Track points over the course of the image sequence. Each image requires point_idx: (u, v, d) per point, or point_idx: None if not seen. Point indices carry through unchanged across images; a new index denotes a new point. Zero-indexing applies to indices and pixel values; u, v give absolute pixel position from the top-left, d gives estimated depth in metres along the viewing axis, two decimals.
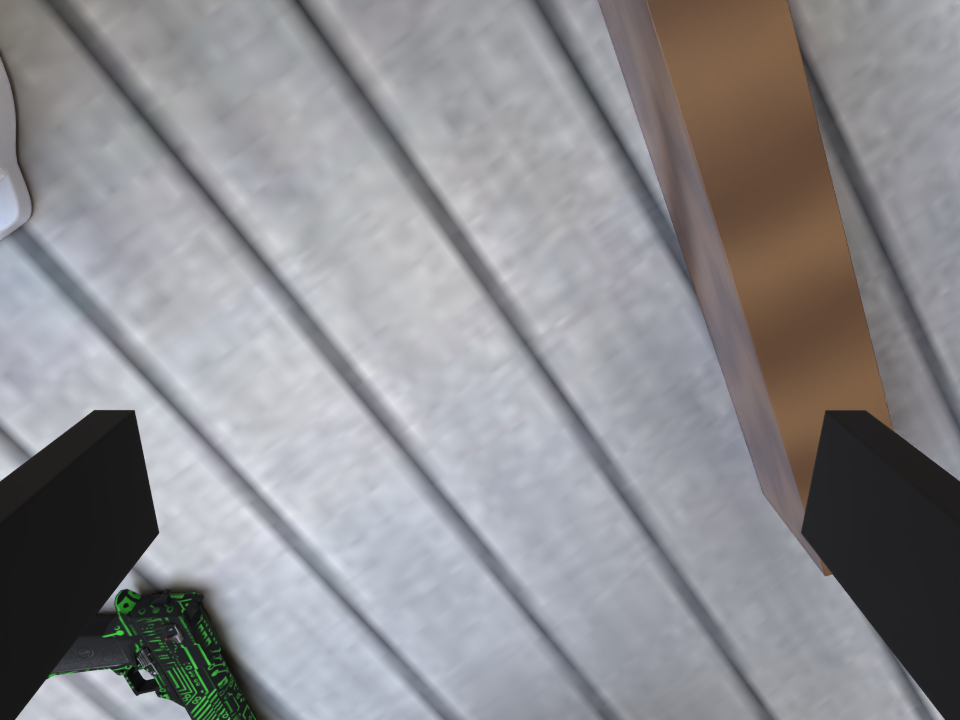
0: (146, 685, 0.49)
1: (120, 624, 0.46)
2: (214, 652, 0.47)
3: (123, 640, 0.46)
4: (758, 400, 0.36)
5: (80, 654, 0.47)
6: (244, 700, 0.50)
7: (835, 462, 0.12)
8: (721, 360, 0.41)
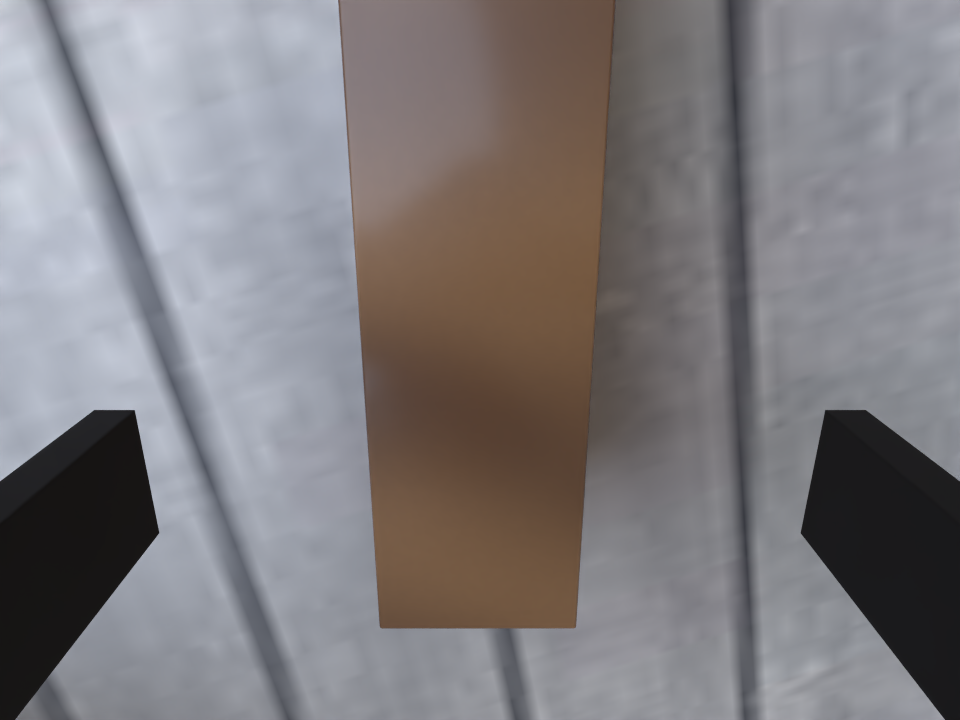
0: None
1: None
2: None
3: None
4: None
5: None
6: None
7: (835, 462, 0.12)
8: None
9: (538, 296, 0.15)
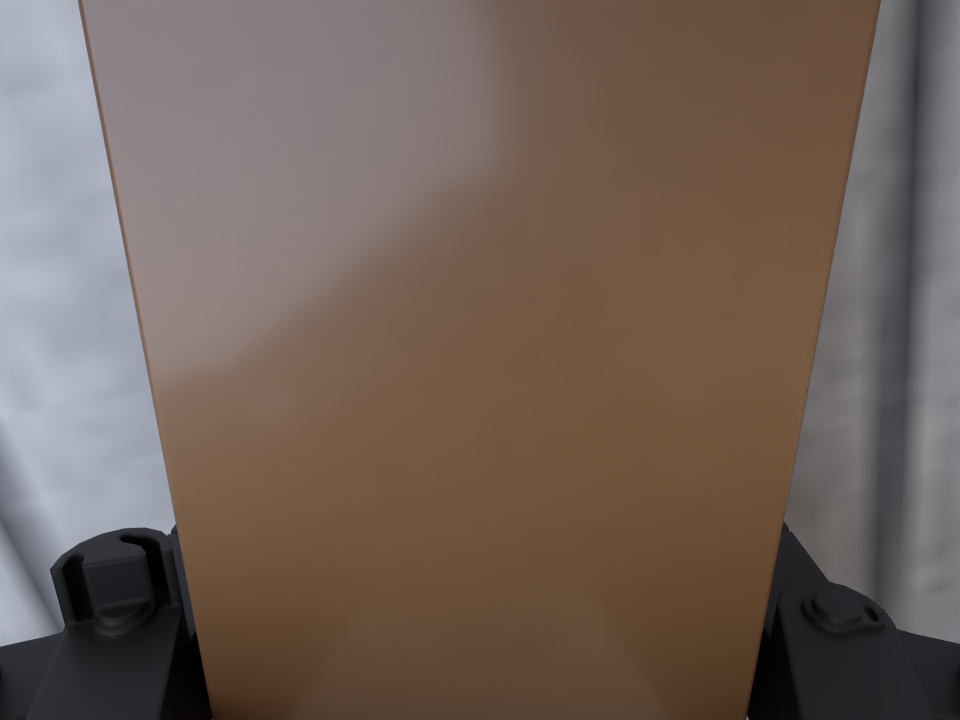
0: None
1: None
2: None
3: None
4: None
5: None
6: None
7: None
8: None
9: (631, 562, 0.06)
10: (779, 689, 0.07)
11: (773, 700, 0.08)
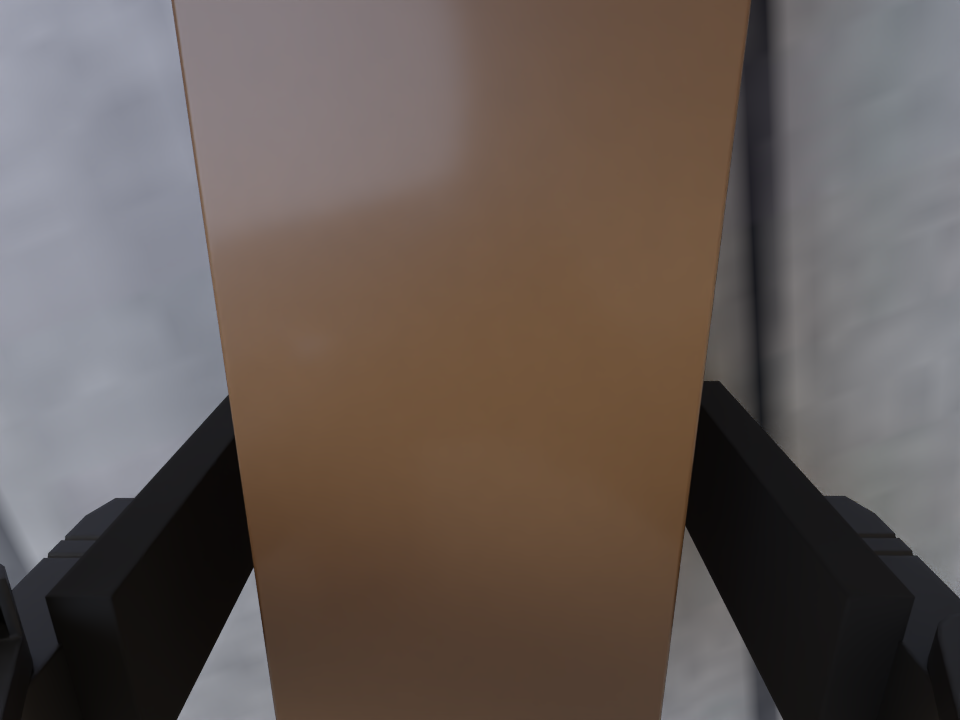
0: None
1: None
2: None
3: None
4: None
5: None
6: None
7: None
8: None
9: (584, 441, 0.08)
10: None
11: None
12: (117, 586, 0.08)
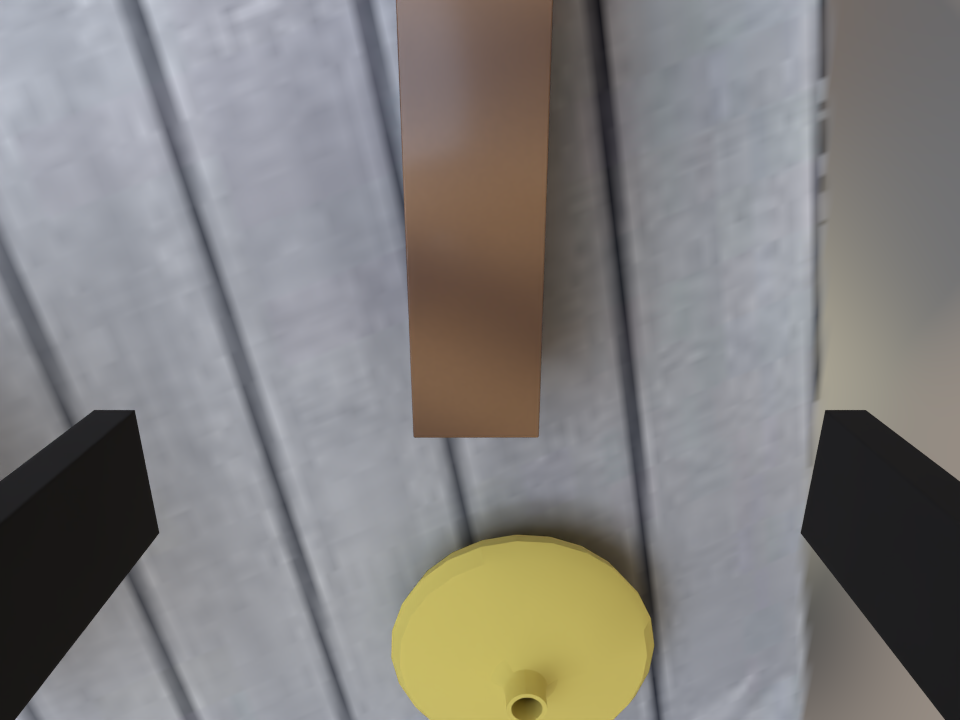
0: None
1: None
2: None
3: None
4: None
5: None
6: None
7: (835, 462, 0.12)
8: None
9: (511, 216, 0.25)
10: None
11: None
12: None
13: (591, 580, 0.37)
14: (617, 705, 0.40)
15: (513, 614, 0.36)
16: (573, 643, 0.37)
